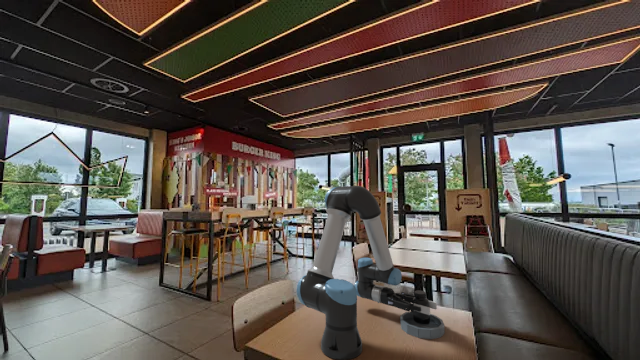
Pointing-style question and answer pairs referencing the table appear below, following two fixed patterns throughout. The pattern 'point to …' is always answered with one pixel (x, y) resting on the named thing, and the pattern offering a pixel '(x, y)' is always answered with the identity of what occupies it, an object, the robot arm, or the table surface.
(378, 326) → the table surface
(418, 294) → the supplement bottle
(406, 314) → the bowl
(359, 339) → the robot arm
